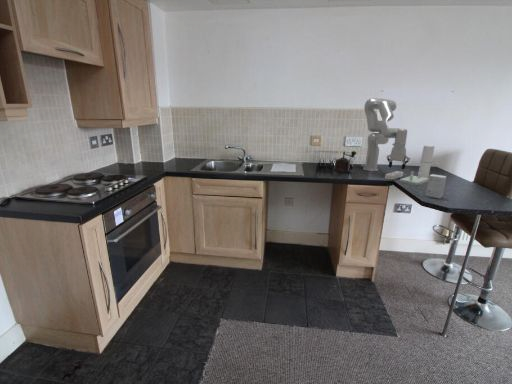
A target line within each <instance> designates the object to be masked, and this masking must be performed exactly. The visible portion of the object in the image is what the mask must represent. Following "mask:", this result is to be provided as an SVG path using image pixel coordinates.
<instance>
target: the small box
mask: <svg viewBox="0 0 512 384" xmlns="http://www.w3.org/2000/svg"><path fill="white" fill-rule="evenodd" d="M428 178H429V180H428V182H427V186H426V192H425V197H429V198H436V199H441V198H442V197H443V196H444V191H445V187H446V186H445V185H446V182H447V178H448V177H447V175H440V174H434V173H432V174H429V177H428Z"/></svg>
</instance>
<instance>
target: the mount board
mask: <svg viewBox="0 0 512 384" xmlns="http://www.w3.org/2000/svg"><path fill="white" fill-rule="evenodd" d="M421 171H422V170H421V169H419V168H418V172H417V175H414V173H415V171H410V175H409V176H406V177H403V178H400V179H399V183H403V184H408V185H412V186H420V185H423V184H425V183H428V180H429V177H428V178H424V177H420V174H421Z"/></svg>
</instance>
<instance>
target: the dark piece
mask: <svg viewBox="0 0 512 384" xmlns="http://www.w3.org/2000/svg"><path fill="white" fill-rule="evenodd" d="M355 155H357V151H355V150H353V151H351V154H347V153H346V151H343V155H342V157H340V158H337V159H336V160H335V166H334V167H335V169H334V172H339V173H348V172H350V165H351V160H350V159H347V158H346V157H345V156H348V157H351V158H355Z"/></svg>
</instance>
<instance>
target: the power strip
mask: <svg viewBox="0 0 512 384" xmlns="http://www.w3.org/2000/svg"><path fill="white" fill-rule="evenodd" d="M402 176H404V172H403V171H398V170H396V171H392V172H390V173H386V174H384V179H385V180H389V179H393V180H396V179H399V177H400V178H402Z"/></svg>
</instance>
